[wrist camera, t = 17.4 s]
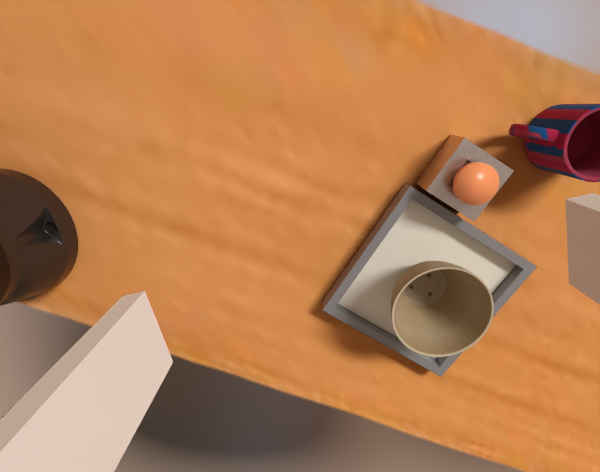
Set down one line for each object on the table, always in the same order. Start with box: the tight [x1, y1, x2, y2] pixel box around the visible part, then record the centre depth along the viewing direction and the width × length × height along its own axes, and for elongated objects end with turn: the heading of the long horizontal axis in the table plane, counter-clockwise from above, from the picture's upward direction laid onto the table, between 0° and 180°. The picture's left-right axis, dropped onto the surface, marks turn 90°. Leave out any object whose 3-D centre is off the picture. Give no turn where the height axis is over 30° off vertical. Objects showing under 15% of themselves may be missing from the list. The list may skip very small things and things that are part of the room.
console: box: [416, 135, 514, 221], centre depth 41 cm, size 6×6×4 cm
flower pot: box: [391, 261, 494, 357], centre depth 43 cm, size 10×10×7 cm
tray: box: [322, 183, 537, 376], centre depth 46 cm, size 17×17×2 cm
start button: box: [452, 162, 499, 205], centre depth 39 cm, size 4×4×3 cm
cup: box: [509, 104, 600, 182], centre depth 38 cm, size 7×10×7 cm
